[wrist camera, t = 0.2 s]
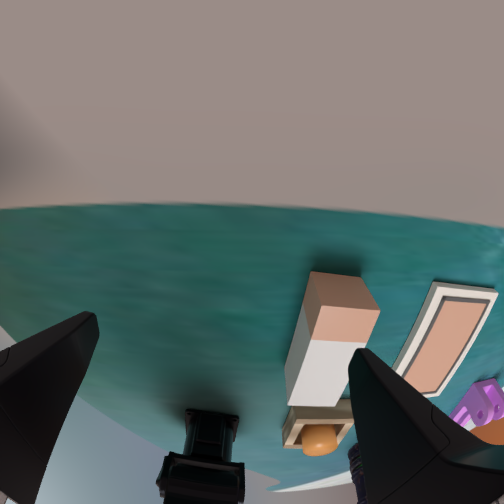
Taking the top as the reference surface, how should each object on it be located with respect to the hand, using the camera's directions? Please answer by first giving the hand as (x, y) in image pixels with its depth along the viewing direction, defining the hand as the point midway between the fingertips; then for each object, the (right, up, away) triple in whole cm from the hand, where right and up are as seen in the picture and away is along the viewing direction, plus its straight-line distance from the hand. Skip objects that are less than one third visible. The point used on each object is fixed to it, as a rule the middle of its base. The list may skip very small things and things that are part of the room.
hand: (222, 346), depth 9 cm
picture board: (+22, -8, +18) cm, 29 cm away
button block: (+9, -17, +22) cm, 29 cm away
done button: (+9, -18, +21) cm, 29 cm away
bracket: (+36, -22, +25) cm, 49 cm away
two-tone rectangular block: (+7, -4, +17) cm, 19 cm away
